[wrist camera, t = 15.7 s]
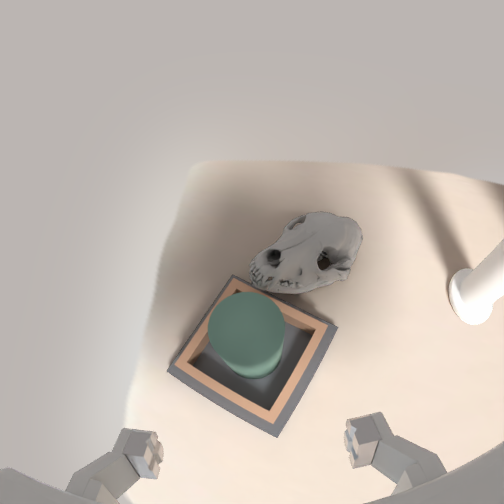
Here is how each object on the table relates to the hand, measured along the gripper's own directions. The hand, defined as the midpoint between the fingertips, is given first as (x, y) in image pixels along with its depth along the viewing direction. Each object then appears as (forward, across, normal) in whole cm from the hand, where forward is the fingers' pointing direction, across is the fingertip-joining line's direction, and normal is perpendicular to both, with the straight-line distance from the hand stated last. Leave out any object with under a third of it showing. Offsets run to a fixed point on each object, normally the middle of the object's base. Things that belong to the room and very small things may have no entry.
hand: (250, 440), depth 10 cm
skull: (+21, -6, -1) cm, 22 cm away
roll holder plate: (+15, 0, +5) cm, 16 cm away
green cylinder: (+14, 0, +5) cm, 15 cm away
